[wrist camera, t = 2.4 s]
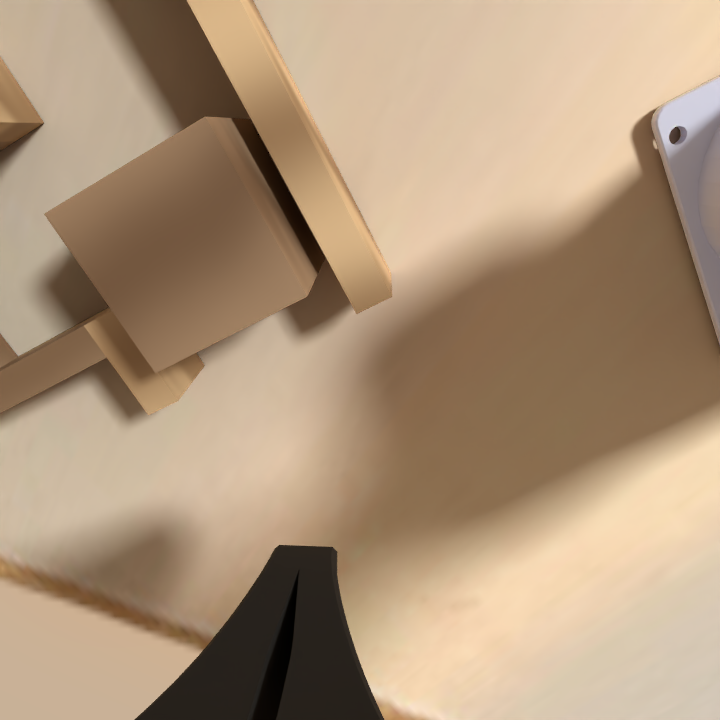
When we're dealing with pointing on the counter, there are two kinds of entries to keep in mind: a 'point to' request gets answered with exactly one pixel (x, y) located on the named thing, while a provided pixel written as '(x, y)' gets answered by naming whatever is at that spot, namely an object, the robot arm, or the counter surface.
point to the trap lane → (295, 163)
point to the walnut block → (192, 240)
